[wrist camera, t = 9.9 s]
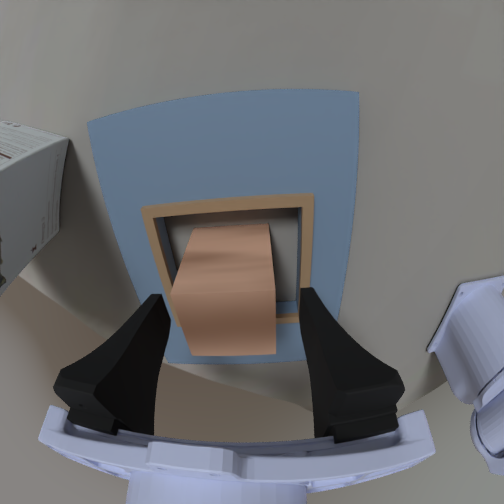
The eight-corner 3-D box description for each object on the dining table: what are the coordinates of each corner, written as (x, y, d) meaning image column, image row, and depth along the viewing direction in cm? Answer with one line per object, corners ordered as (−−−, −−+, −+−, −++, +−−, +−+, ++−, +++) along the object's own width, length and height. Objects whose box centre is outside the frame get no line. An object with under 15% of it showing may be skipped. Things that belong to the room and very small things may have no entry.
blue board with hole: (326, 346, 23) (329, 361, 21) (170, 352, 23) (167, 366, 22) (350, 91, 12) (361, 92, 11) (97, 119, 13) (83, 123, 11)
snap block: (270, 282, 19) (276, 353, 14) (205, 285, 19) (192, 355, 14) (268, 223, 16) (275, 290, 11) (193, 228, 17) (170, 294, 12)
